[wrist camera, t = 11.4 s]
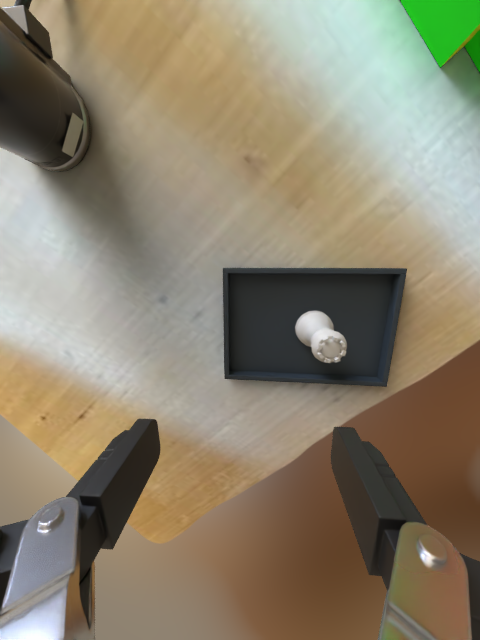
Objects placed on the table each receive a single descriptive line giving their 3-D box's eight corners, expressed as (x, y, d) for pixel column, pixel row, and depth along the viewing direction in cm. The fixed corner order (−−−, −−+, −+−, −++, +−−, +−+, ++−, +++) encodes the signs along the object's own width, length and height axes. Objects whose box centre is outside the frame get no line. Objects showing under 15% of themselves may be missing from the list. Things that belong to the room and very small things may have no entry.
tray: (225, 267, 28) (222, 268, 26) (397, 268, 26) (407, 268, 24) (226, 372, 31) (224, 379, 29) (379, 379, 29) (386, 386, 28)
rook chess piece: (325, 304, 27) (351, 320, 20) (335, 337, 28) (363, 365, 20) (290, 316, 28) (300, 335, 20) (300, 348, 29) (314, 378, 21)
